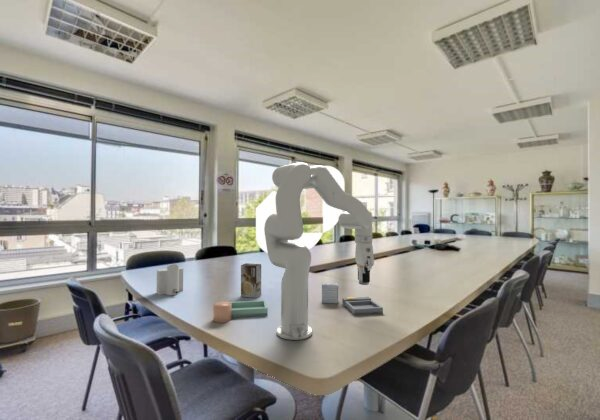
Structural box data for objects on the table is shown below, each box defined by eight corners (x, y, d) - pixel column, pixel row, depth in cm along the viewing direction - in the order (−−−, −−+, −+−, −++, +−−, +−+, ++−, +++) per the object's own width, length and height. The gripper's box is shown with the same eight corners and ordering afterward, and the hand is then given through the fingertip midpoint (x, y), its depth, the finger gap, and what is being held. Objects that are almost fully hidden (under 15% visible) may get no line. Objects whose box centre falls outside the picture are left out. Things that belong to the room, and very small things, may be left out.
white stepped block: (180, 289, 161) (180, 262, 161) (188, 294, 150) (189, 265, 150) (156, 292, 153) (156, 264, 153) (163, 299, 142) (164, 268, 143)
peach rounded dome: (231, 322, 112) (231, 306, 113) (212, 323, 111) (212, 307, 111) (231, 315, 119) (231, 301, 119) (214, 316, 118) (214, 302, 118)
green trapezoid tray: (267, 315, 120) (267, 308, 120) (227, 317, 117) (227, 310, 117) (265, 307, 131) (265, 300, 131) (229, 308, 128) (229, 302, 128)
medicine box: (338, 301, 141) (338, 283, 141) (338, 303, 137) (338, 285, 137) (321, 300, 142) (321, 282, 142) (321, 303, 137) (321, 284, 137)
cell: (370, 284, 126) (370, 265, 126) (361, 285, 125) (361, 265, 125) (366, 282, 130) (366, 263, 131) (357, 282, 130) (357, 263, 130)
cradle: (382, 313, 123) (382, 305, 123) (353, 315, 121) (353, 307, 121) (368, 303, 138) (368, 296, 138) (342, 304, 135) (342, 297, 135)
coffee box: (261, 294, 151) (262, 263, 151) (256, 298, 145) (256, 266, 145) (246, 293, 153) (246, 263, 154) (240, 296, 147) (240, 264, 147)
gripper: (380, 241, 120) (380, 285, 120) (363, 237, 137) (363, 276, 137) (363, 241, 119) (363, 286, 119) (348, 238, 136) (348, 277, 135)
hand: (363, 280), depth 128 cm, fingers closed on cell, 4 cm apart
